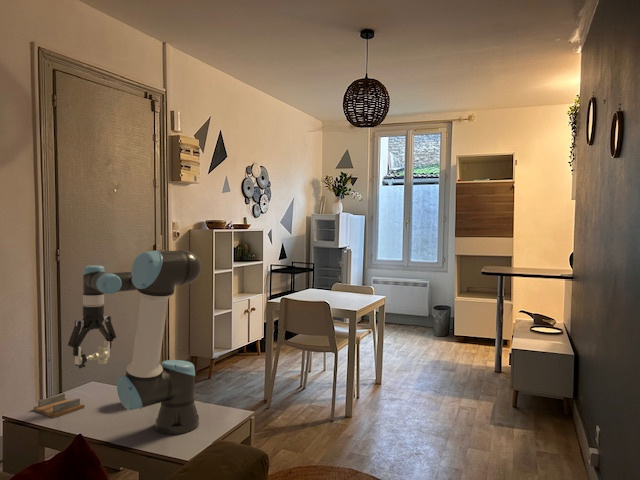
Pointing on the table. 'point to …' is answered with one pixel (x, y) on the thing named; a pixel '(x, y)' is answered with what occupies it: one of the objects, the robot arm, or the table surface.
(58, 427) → the table surface
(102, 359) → the valve
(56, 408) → the board
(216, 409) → the table surface
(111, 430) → the table surface
